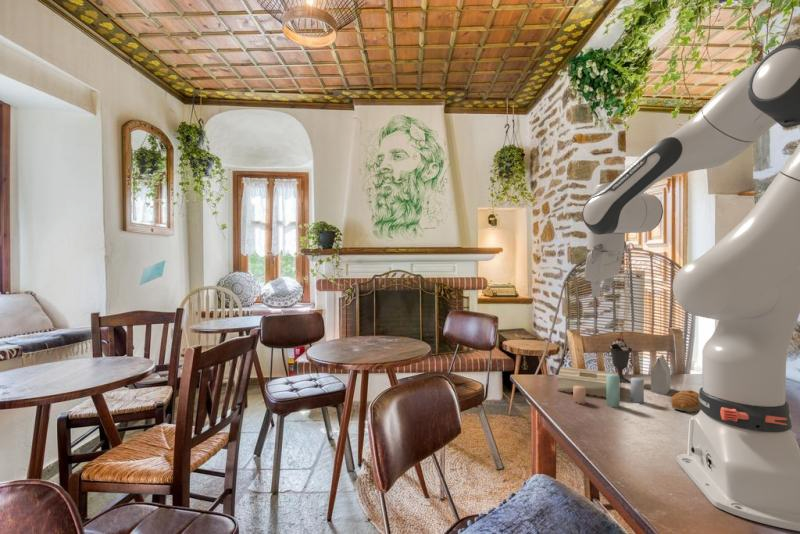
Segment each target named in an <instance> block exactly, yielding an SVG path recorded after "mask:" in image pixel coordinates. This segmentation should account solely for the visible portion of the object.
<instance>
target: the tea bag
mask: <svg viewBox="0 0 800 534" xmlns="http://www.w3.org/2000/svg"><path fill="white" fill-rule="evenodd" d="M656 360H657V361H656V362H655V364H654V366H653V368H652V369H651V371H650V393H655V394H659V395H665V396H666V395H668V393H669V391H671V368H670V366H669V365H668V361H666V358H665V356H664V354H663V353H661V354H660V355H659V356H658V357H657V359H656Z"/></svg>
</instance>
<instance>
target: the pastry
mask: <svg viewBox="0 0 800 534" xmlns="http://www.w3.org/2000/svg"><path fill="white" fill-rule="evenodd" d="M698 398H699V393H698V392H696V391H694V390H691V389H689V390H688V389H687V390H683V389H682V390H681V391H679V392H676V393H675V394H674V395H672V397H671V398H670V402H671V407H672V408H673V409H674V410H679V411H682V412H687V413H695V412H699V411H700V410H701V409H700V408H699V399H698Z"/></svg>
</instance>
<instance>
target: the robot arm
mask: <svg viewBox="0 0 800 534" xmlns="http://www.w3.org/2000/svg"><path fill="white" fill-rule="evenodd" d="M776 124H778V125H780V126H781V127H782V128H784V129H785V128H786V129H788V128H794V127H796V128H797V129H798V130H799V131H800V38H797V39H792V40H790V41H786V42H785V43H782V44H781V45H779V46H777V47H775V48H774V49H772V50H771V51H769V53H768V54H767V55H766V56H764V58H763V59H761V60H760V61H757V62H754V63H752V64H750V65H749V66H747V67H746V68H745V69H744V70H743V71H741V72H740V73H738V74H737V75H736V76H735V77H734V78H732V79H731V80H730V81H729V82H727V84H725V85H724V86H723V87H722V88H721V89H720V90H718V92H717V93H715V94H714V95H713V96H712V97H711V98H710V99H709V100H708V101H707V102H706V104H704V105H703V106H702V108H700V109H699V111H697V112H696V114H695V115H693V116H692V117H691V118H690V119H689V120H687V121H686V122H685V123H684V124H683V125H682V126H680V127H679V128H678V129H676V130H675V131H673V133H671V134H670V135H668V136H666V137H665V138H662V140H660V141H659V142H657V143H655V144H654V145H652V146H651V147H650V148H649V149H648V150H646V151H645V152H643V154H641V155H640V156H639V157H638V158H637V159H636V160H635V161H634V162H632V163H631V165H629V166H628V167H627V168H626V169H625V170H624V171H623V172H622V173H620V175H618V176H617V177H616V178H615V179H614V180H612V181H607V182H606V181H605V182H601V183H599V184H598V185H596V186H595V187H594V189H593V190H592V195H591V196H590V197H588V199H587V200H586V202H585V203H584V206H583V209H582V220H583V223H584V224H585V226H586V227H587V229H588V230H587V243H586V249H587V250H588V251H589V252H588V253H587V254H586V259H585V260H586V261H585V266H584V279H585V281H587V282H590V287H591V288H590V289H591V297H592V298H600V297H601V293H602V292H603V293H610V292H611V291H612V290H611V289H612V283H613V281H614V276H618V275H619V273H620V271H621V267H622V264H623V263H622V262H623V257H624V250H626V249H627V248H626V247H627V242H626V234H631V233H633V234H634V233H635V234H637V233H638V234H640V233H648V232H651V231H653V230H654V229H656V228H657V227H658V226H659V225H660V223H661V222H662V220H663V214H664V207H663V204H662V202H661V201H660V199H659V198H658V197H657V196H656V195H653V194H650V193H646V191H648V190H649V189H650V188H652V186H654V185H656V184H657V183H658V182H660V181H662V180H664V179H667V178H669V177H672V176H673V177H674V176H675V175H679V174H685V173H688V172H689V173H690V172H694V171H701V170H706V169H712V168H717V167H719V166H722V165H724V164H726V163H728V162H730V161H731V160H733V159H734V158H737V157H738V156H739V155H741V154H743V152H745V151H746V150H747V149H748V148H749V147H751V145H753V144H754V143H755V142H756V141H758V139H760V138H761V137H762V136H763V135H764V134H766V133H767V132H768V131H769V130H770V129H771V128H772V127H773V126H775V125H776ZM602 281H603V284H602ZM601 284H602V290H601ZM672 293H673V296H674V299H675V301H676V303H677V304H678V305H679V306H680V307H681V308H682V309H683V310H684V311H685V312H687V313H689V314H691V315H693V316H697V317H700V318H705V319H712V320H715V321H716V320H718V322H717V325H716V328H715V330H714V332H713V334H712V335H711V337H710V338H709V339H708V340H707V341H706V342H705V344H704V345H703V348H702V351H701V352H702V363H701V364H702V373H701V375H702V376H701V378H702V380H701V381H702V383H701V384H702V385H701V387H700V388H699V391H698V392H699V393H698V394H699V398H698V399H699V408H700V409H701V410H699V411H698V413H697V414H695V415H694V416H692V417H691V418H689V422H688V435H687V436H688V437H687V453H681V454H678V455H677V456H676V462H677V463H678V465H679V466H680V467H681V468H682V470H684V472H685V473H686V474H687V475H688V477H689V478H690V479H691V481H692V482H693V483H694V484H695V486H697V487H698V489H699V490H700V491H701V492H702V494H703V495H704V496H705V497H706V498H707V499H708V500H709V502H710V503H711V504H712V505H713V506H715V507H716V508H718V509H719V510H723V511H725V512H727V513H730V514H731V515H735V516H738V517H740V518H743V519H746V520H750V521H754V522H757V523H760V524H764V525H767V526H772V527H777V528H782V529H785V530H791V531H796V532H800V446H799V442H798V441H797V434H796V433H795V432H794V431H792V430H791V429H792V427H793V425H792V412H791V411H790V406H789V403H788V402H787V401H786V385H787V384H786V383H787V382H786V381H787V380H786V377H787V358H788V352H789V349H790V348H789V347H790V344H791V341H792V338H793V335H794V331H795V329H796V326H797V322H798V319H799V317H800V141H799V143H798V144H797V147H796V148H795V150H794V151H793V153H792V154H791V156H790V157H789V158H788V159H787V161H786V163H785V164H784V165H783V166H782V168H780V171H778V173H777V175H775V177H774V179H773V180H772V182H771V183H770V184H769V185H768V186H767V189H766V190H765V191H764V192H763V193H762V195H761V196H760V198H759V199H758V200H757V201H756V202H755V205H754V206H753V207H752V208H751V210H750V211H749V212H748V213H747V215H745V216H744V218H743V219H742V220H741V221H740V222H739V223H737V224H736V225H735V226H734V228H732V229H730V230H729V232H728V233H727V234H725V235H724V236H723V237H722V238H721V239H720V240H719V241H718V242H717V243H716V244H714V245H713V246H712V247H711V248H710V249H708V250H707V251H706V252H705V253H703V254H702V255H701V256H698V258H697V259H694V260H692V261H691V262H688V263H687V264H685V265H683V266H682V267H681V268H680V269H678V271H677V272H676V274H675V276H674V278H673V281H672Z"/></svg>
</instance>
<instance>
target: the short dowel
mask: <svg viewBox="0 0 800 534" xmlns="http://www.w3.org/2000/svg"><path fill="white" fill-rule="evenodd" d="M572 395H573V397H572V398H573V401H574V402H577V403H585V402H586V403H587V401H586V394H585V387H583V386H573V394H572ZM573 401H572V402H573ZM574 402H573V403H574ZM577 403H576V404H577ZM586 403H585V404H586Z"/></svg>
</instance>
